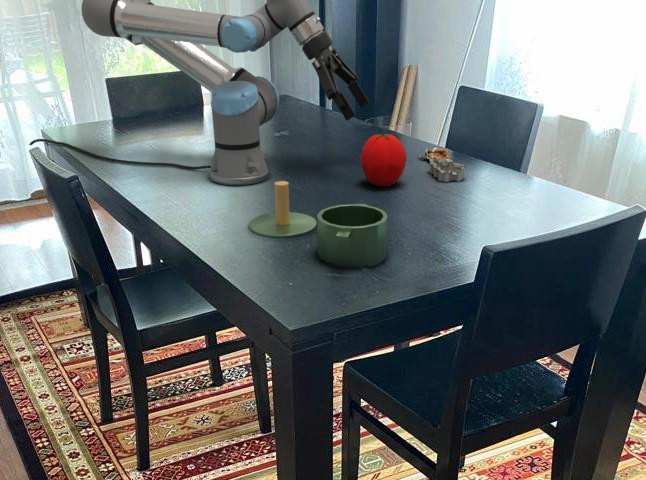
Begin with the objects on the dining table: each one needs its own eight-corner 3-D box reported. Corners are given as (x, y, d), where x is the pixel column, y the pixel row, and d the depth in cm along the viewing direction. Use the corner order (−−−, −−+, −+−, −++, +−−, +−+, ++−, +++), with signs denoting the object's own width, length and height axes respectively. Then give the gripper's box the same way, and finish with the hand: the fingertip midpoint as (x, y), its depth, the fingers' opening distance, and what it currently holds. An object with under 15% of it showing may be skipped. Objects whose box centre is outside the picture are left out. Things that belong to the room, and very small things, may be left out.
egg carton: (465, 181, 197) (467, 166, 195) (437, 182, 196) (438, 167, 194) (454, 169, 206) (455, 154, 204) (427, 170, 206) (428, 155, 204)
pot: (307, 271, 147) (306, 229, 143) (329, 236, 163) (329, 198, 159) (376, 277, 144) (377, 235, 140) (392, 241, 160) (394, 202, 156)
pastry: (440, 169, 207) (441, 156, 205) (417, 158, 216) (418, 145, 215) (462, 166, 209) (463, 153, 208) (439, 155, 219) (439, 143, 217)
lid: (240, 237, 163) (237, 191, 158) (261, 214, 176) (259, 171, 171) (306, 243, 160) (306, 196, 155) (323, 219, 172) (323, 175, 168)
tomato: (353, 189, 192) (353, 136, 186) (369, 175, 202) (370, 125, 196) (397, 194, 188) (399, 140, 182) (411, 180, 198) (413, 129, 192)
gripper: (308, 38, 180) (357, 115, 186) (338, 22, 201) (381, 92, 206) (284, 56, 184) (333, 131, 190) (316, 39, 205) (359, 107, 210)
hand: (358, 111), depth 198 cm, fingers open, 13 cm apart
